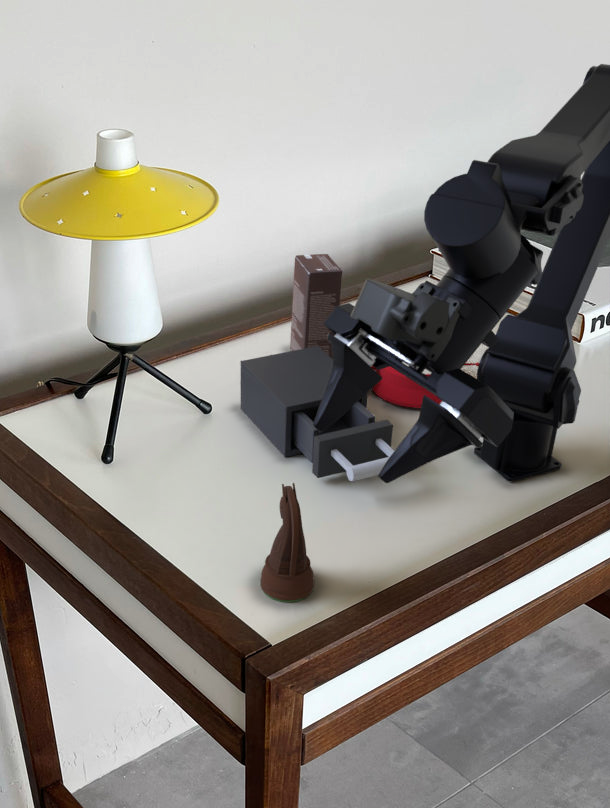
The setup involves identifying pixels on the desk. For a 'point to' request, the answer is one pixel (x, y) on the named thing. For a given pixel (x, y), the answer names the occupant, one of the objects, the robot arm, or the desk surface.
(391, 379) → the alarm clock
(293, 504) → the chess piece
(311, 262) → the box
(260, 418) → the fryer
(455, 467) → the desk surface
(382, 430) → the drawer
